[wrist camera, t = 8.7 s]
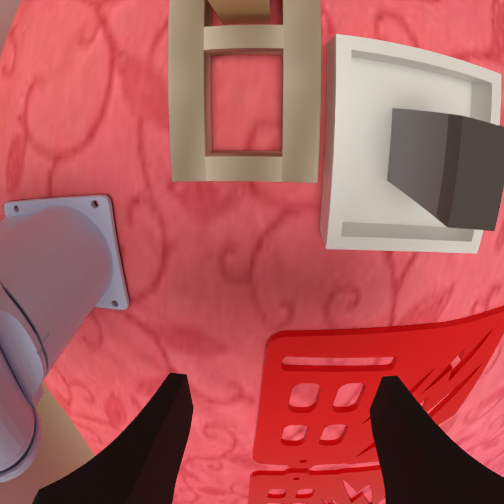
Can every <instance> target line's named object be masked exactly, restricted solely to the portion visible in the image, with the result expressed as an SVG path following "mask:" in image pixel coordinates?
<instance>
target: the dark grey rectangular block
mask: <svg viewBox="0 0 504 504" xmlns="http://www.w3.org/2000/svg"><path fill="white" fill-rule="evenodd" d="M387 181H388V182H390V183H391V184H392V185H394V186H395V187H397V188H398V189H399V190H401V191H402V192H403V193H405V194H406V195H407V196H409V197H410V198H411V199H413V200H414V201H415V202H416V203H418V204H419V205H420V206H422V207H423V208H424V209H425V210H427V211H428V212H429V213H430V214H432V215H433V216H434V217H435V218H437V219H438V220H439V221H440V222H442V223H443V224H444V225H445V226H446V227H448V228H462V229H476V230H489V231H494V230H495V226H496V221H497V217H498V212H499V208H500V203H501V197H502V192H503V186H504V127H502V126H499V125H495V124H492V123H488V122H485V121H481V120H478V119H474V118H470V117H466V116H462V115H455V114H447V113H439V112H431V111H421V110H411V109H399V108H392V126H391V141H390V154H389V165H388V175H387Z"/></svg>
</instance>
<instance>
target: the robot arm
mask: <svg viewBox="0 0 504 504" xmlns="http://www.w3.org/2000/svg"><path fill="white" fill-rule="evenodd" d="M94 200H95V201H97V202H98V206H96V205H95V204H94ZM17 206H18V208H19V210H18V208H17ZM4 213H5V218H4V219H2V220H0V482H5V481H8V480H11V479H13V478H15V477H17V476H19V475H20V474H22V473H23V472H24V471H25V470H26V469H27V468H28V467H29V466H30V465H31V463H32V462H33V461H34V459H35V457H36V455H37V454H38V451H39V448H40V445H41V439H42V426H41V420H40V417H39V414H38V412H37V410H36V409H35V407H36V405H37V404H38V402H39V401H40V399H41V397H42V396H43V394H44V391H43V388H42V382H43V380H44V378H45V377H46V375H47V374H48V372H49V371H50V369H51V368H52V366H53V365H54V363H55V362H56V360H57V359H58V357H59V356H60V354H61V353H62V351H63V350H64V349H65V347H66V346H67V344H68V343H69V341H70V340H71V338H72V337H73V336H74V334H75V333H76V331H77V330H78V329H79V327H80V326H81V324H82V323H83V322H84V320H85V319H86V318H87V316H88V315H89V313H90V312H91V311H92V309H93V308H94V307H98V308H108V309H118V310H125V309H127V308H128V306H129V298H128V294H127V289H126V284H125V280H124V275H123V270H122V264H121V259H120V254H119V248H118V242H117V236H116V230H115V224H114V217H113V210H112V203H111V199H110V198H109V197H108V196H107V195H103V194H102V195H84V196H68V197H54V198H41V199H29V200H18V201H9V202H7V203H5V204H4ZM114 301H116V302H117V303H118V304H117V303H115V302H114ZM369 410H370V419H371V428H372V434H373V438H374V442H375V447H376V451H377V455H378V459H379V463H380V467H381V472H382V476H383V481H384V487H385V498H386V504H504V477H502V476H500V475H498V474H497V473H495V472H493V471H491V470H490V469H488V468H487V467H485V466H484V465H482V464H481V463H479V462H478V461H477V460H475V459H474V458H473V457H471V456H470V455H469V454H467V453H466V452H465V451H464V450H463V449H461V448H460V447H459V446H458V445H457V444H456V443H455V442H454V441H453V440H451V439H450V438H449V437H448V436H447V435H446V434H445V433H444V431H443V430H442V429H441V428H440V427H439V426H438V425H437V424H436V423H435V422H434V421H433V419H432V418H431V417H430V416H429V415H428V413H427V412H426V411H425V410H424V409H423V408H422V406H421V405H420V404H419V403H418V401H417V400H416V399H415V397H414V396H413V395H412V394H411V392H410V391H409V390H408V389H407V387H406V386H405V385H404V383H403V382H402V381H401V380H400V378H399V377H398V376H397V375H396V376H384V377H382V379H381V382H380V384H379V387H378V390H377V392H376V395H375V397H374V400H373V402H372V404H371V407H370V409H369ZM192 414H193V404H192V399H191V394H190V389H189V384H188V379H187V375H186V374H176V373H170V374H169V375H168V376H167V377H166V379H165V380H164V382H163V383H162V385H161V386H160V387H159V389H158V390H157V392H156V393H155V394H154V396H153V397H152V398H151V399H150V401H149V402H148V403H147V404H146V406H145V407H144V408H143V409H142V411H141V412H140V413H139V414H138V415H137V417H136V418H135V419H134V420H133V421H132V422H131V423H130V424H129V425H128V427H127V428H126V429H125V430H124V431H123V432H122V433H121V434H120V435H119V436H118V437H117V438H116V439H115V440H114V441H113V442H112V443H110V444H109V445H108V446H107V447H106V448H105V449H104V450H102V451H101V452H100V453H99V454H97V455H96V456H95V457H94V458H92V459H91V460H90V461H88V462H87V463H86V464H84V465H83V466H81V467H80V468H78V469H76V470H75V471H73V472H72V473H70V474H69V475H67V476H66V477H63V478H62V479H60V480H58V481H56V482H54V483H52V484H50V485H48V486H46V487H44V488H41V489H39V491H38V493H37V495H36V496H35V498H34V501H33V503H32V504H172V501H173V494H174V488H175V483H176V479H177V475H178V472H179V468H180V464H181V461H182V457H183V454H184V450H185V447H186V443H187V440H188V436H189V432H190V427H191V421H192Z"/></svg>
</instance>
